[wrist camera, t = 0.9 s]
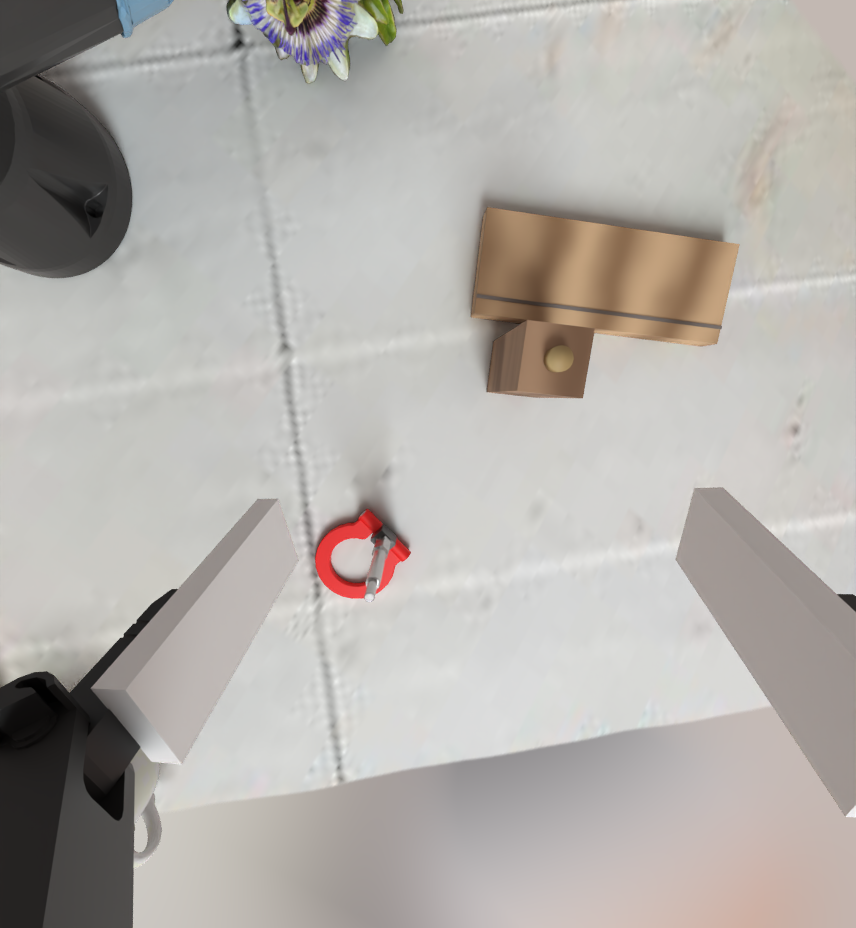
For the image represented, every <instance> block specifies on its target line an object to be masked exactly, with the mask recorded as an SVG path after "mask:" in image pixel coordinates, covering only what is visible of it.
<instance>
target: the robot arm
mask: <svg viewBox="0 0 856 928" xmlns="http://www.w3.org/2000/svg"><path fill="white" fill-rule="evenodd" d="M172 2H173V0H0V264H2V265H4V266H7V267H10V268H13V269H16V270H19V271H23V272H26V273H29V274H32V275H36V276H41V277H48V278H66V277H73V276H77V275H81V274H84V273H86V272H89V271H91V270H93V269H95V268H96V267H98V266H99V265H101V264H102V263H103V262H105V261H106V260H107V259H108V258H109V257H110V256H111V255H112V254H113V253H114V252H115V250H116V249H117V248H118V246H119V245H120V243H121V241H122V239H123V238H124V235H125V233H126V231H127V228H128V224H129V220H130V215H131V207H132V194H131V184H130V179H129V175H128V171H127V168H126V165H125V162H124V160H123V157H122V155H121V153H120V151H119V149H118V147H117V145H116V143H115V142H114V140H113V139H112V137H111V136H110V134H109V133H108V132H107V130H106V129H105V128H104V127H103V125H102V124H101V123H100V122H99V121H98V120H97V119H96V118H95V117H94V116H93V115H92V114H91V113H90V112H88V111H87V110H86V109H85V108H84V107H83V106H82V105H81V104H79V103H78V102H77V101H76V100H75V99H74V98H73V97H72V96H70V95H69V94H68V93H67V92H65V91H64V90H63V89H61V88H60V87H58V86H57V85H55V84H54V83H52V82H51V81H49V80H47V79H45V78H44V77H42V76H40V75H37V74H39V73H41V72H43V71H46V70H48V69H50V68H52V67H54V66H56V65H58V64H60V63H62V62H64V61H66V60H68V59H70V58H72V57H74V56H76V55H78V54H80V53H82V52H84V51H86V50H88V49H90V48H92V47H94V46H96V45H98V44H100V43H102V42H104V41H106V40H108V39H110V38H112V37H114V36H116V35H118V34H121V35H122V37H123V38H128V37H130V36H131V34H132V32H133V27H135V26H137V25H139V24H140V23H142V22H144V21H145V20H147V19H149V18H151V17H152V16H154V15H156V14H157V13H159V12H161V11H163V10H164V9H166V8H167V7H169V5H170V4H171V3H172ZM298 561H299V559H298V556H297V553H296V550H295V547H294V544H293V541H292V538H291V535H290V532H289V529H288V526H287V523H286V520H285V517H284V514H283V511H282V508H281V505H280V502H279V499H257V501H256V502H255V503H254V504H253V505H252V506H251V507H250V508H249V510H248V511H247V512H246V513H245V514H244V515H243V516H242V518H241V519H240V520H239V521H238V522H237V523H236V524H235V525H234V527H233V528H232V529H231V530H230V531H229V532H228V533H227V535H226V536H225V537H224V538H223V539H222V540H221V541H220V542H219V544H218V545H217V546H216V547H215V548H214V549H213V550H212V552H211V553H210V554H209V555H208V556H207V557H206V558H205V559H204V561H203V562H202V563H201V564H200V565H199V566H198V567H197V568H196V570H195V571H194V572H193V573H192V574H191V575H190V576H189V578H188V579H187V580H186V581H185V582H184V583H183V584H182V585H181V587H180V588H179V589H172V590H170V591H169V592H167V593H166V594H165V595H163V596H162V597H160V598H159V599H158V600H156V601H155V602H154V603H152V604H151V605H150V606H149V607H148V609H147V610H146V611H145V612H144V613H143V614H142V615H141V616H140V617H139V618H138V619H137V623H136V624H133V625H132V626H131V627H130V628H129V629H128V630H127V631H126V632H125V633H124V637H123V638H120V639H119V640H118V641H117V642H116V643H115V644H114V645H113V646H112V648H111V649H110V650H109V651H108V652H107V653H106V654H105V655H104V656H103V657H102V658H101V659H100V661H99V662H98V663H97V664H96V665H95V666H94V667H93V668H92V669H91V670H90V671H89V673H88V674H87V675H86V676H85V677H84V678H83V679H82V680H81V681H80V682H79V683H78V684H77V686H76V687H75V688H74V689H73V690H72V691H71V692H70V693H69V692H68V691H67V690H66V689H65V688H64V686H63V685H62V684H61V683H60V682H59V681H58V680H57V678H56V677H55V676H54V675H52V674H50V673H48V672H34V673H31V674H28V675H25V676H23V677H20V678H17V679H16V680H14V681H12V682H10V683H8V684H6V685H5V686H3V687H1V688H0V928H133V869H134V801H135V772H134V768H133V765H132V764H131V763H130V762H131V761H132V759H133V758H134V756H135V755H136V753H137V752H138V750H139V749H140V748H141V750H142V751H143V752H144V753H145V755H146V756H147V757H148V758H149V759H150V761H151V762H160V763H172V764H182V763H183V761H184V760H185V758H186V756H187V754H188V753H189V751H190V749H191V748H192V746H193V744H194V742H195V741H196V739H197V737H198V735H199V734H200V732H201V730H202V728H203V727H204V725H205V723H206V721H207V720H208V718H209V716H210V714H211V713H212V711H213V709H214V707H215V706H216V704H217V702H218V700H219V699H220V697H221V695H222V693H223V692H224V690H225V688H226V686H227V685H228V683H229V681H230V679H231V678H232V676H233V674H234V672H235V671H236V669H237V667H238V665H239V664H240V662H241V660H242V658H243V657H244V655H245V653H246V652H247V650H248V648H249V646H250V645H251V643H252V641H253V639H254V638H255V636H256V634H257V632H258V631H259V629H260V627H261V625H262V624H263V622H264V620H265V618H266V617H267V615H268V613H269V611H270V610H271V608H272V606H273V604H274V603H275V601H276V599H277V597H278V596H279V594H280V592H281V590H282V589H283V587H284V585H285V583H286V582H287V580H288V578H289V576H290V575H291V573H292V571H293V569H294V568H295V566H296V564H297V562H298ZM676 561H677V562H678V564H679V565H680V567H681V569H682V570H683V572H684V573H685V575H686V576H687V578H688V579H689V581H690V582H691V584H692V585H693V587H694V588H695V590H696V591H697V593H698V594H699V596H700V597H701V599H702V600H703V602H704V603H705V605H706V606H707V608H708V609H709V611H710V612H711V614H712V615H713V617H714V619H715V620H716V622H717V623H718V625H719V626H720V628H721V629H722V631H723V632H724V634H725V635H726V637H727V638H728V640H729V641H730V643H731V644H732V646H733V647H734V649H735V650H736V652H737V653H738V655H739V656H740V658H741V659H742V661H743V662H744V664H745V665H746V667H747V669H748V670H749V672H750V673H751V675H752V676H753V678H754V679H755V681H756V682H757V684H758V685H759V687H760V688H761V690H762V691H763V693H764V694H765V696H766V697H767V699H768V700H769V702H770V703H771V705H772V706H773V708H774V709H775V711H776V712H777V714H778V715H779V717H780V718H781V720H782V722H783V723H784V725H785V726H786V727H787V729H788V731H789V732H790V734H791V735H792V736H793V738H794V740H795V741H796V743H797V744H798V746H799V747H800V749H801V750H802V752H803V753H804V755H805V756H806V758H807V759H808V761H809V762H810V764H811V765H812V767H813V768H814V770H815V771H816V773H817V775H818V776H819V778H820V779H821V781H822V782H823V784H824V785H825V787H826V788H827V790H828V791H829V793H830V794H831V796H832V797H833V799H834V800H835V802H836V803H837V805H838V806H839V808H840V809H841V810H842V812H843V814H844V815H845V817H856V596H855V595H853V594H836V593H835V592H834V591H833V590H832V589H831V588H829V587H828V586H827V585H826V584H825V583H824V582H823V581H822V580H821V579H820V578H819V577H818V576H817V575H816V574H815V573H813V572H812V571H811V570H810V569H809V568H808V567H807V566H806V565H805V564H804V563H803V562H802V561H801V560H800V559H799V558H797V557H796V556H795V555H794V554H793V553H792V552H791V551H790V550H789V549H788V548H787V547H786V546H785V545H784V544H783V543H781V542H780V541H779V540H778V539H777V538H776V537H775V536H774V535H773V534H772V533H771V532H770V531H769V530H768V529H767V528H765V527H764V526H763V525H762V524H761V523H760V522H759V521H758V520H757V519H756V518H755V517H754V516H753V515H752V514H751V513H749V512H748V511H747V510H746V509H745V508H744V507H743V506H742V505H741V504H740V503H739V502H738V501H737V500H736V499H735V498H733V497H732V496H731V495H730V494H729V493H728V492H727V491H726V490H725V489H724V488H694V492H693V496H692V499H691V503H690V507H689V511H688V514H687V518H686V522H685V526H684V530H683V533H682V537H681V541H680V545H679V548H678V552H677V556H676Z"/></svg>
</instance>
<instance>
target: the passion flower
mask: <svg viewBox="0 0 856 928" xmlns="http://www.w3.org/2000/svg"><path fill="white" fill-rule="evenodd" d="M394 1H395V3H396V4H397V6H398V10H399V12H400V13H401V14H403V6H402V1H401V0H394ZM227 14H228V17H229V19H230V20H231V21H232V22H234V23H235V24H241V25H250V24H253V25H254V26H255V27H256V28H257V29H260V30H261V31H262V32H263V33H264V35H265V36H266V37H267V38H268V39H269V40H270V42H271V43H272V44H273V45H274V46H275V49H276V52H277V55H278V57H279V59H280V60H282V59H287V58H288V57H289V56H293V57H294V59H295V61H296V63H300V64H301V70H302V73H303V76H304V78H305V81H306V83H311V82H313V81H314V80H315V79H316V76H317V72H318V68H319V62H322V63H323V64H325V65H326V64H327V63H328V65H329V66H330V68H331V70H332V71H333V73H334V74H335V75H336V76H337V77H339V78H340V79H341V80H343V81H345V80H347V78H348V74H349V70H350V57H349V51H348V41H349V39H350V38H351V37H356V36H357V37H359V38H364V39H368V40H371V39H374V38H375V37H376V36H377V35H379V37H380V38H381V40H382V41H383V43H384V44H385V46H388V44H389V43H391V42H392V41H393V40H394V39H395V37H396V26H395V21H394V15H393V12H392V9H391V6H390V3H389V1H388V0H229V1H228V3H227Z"/></svg>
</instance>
